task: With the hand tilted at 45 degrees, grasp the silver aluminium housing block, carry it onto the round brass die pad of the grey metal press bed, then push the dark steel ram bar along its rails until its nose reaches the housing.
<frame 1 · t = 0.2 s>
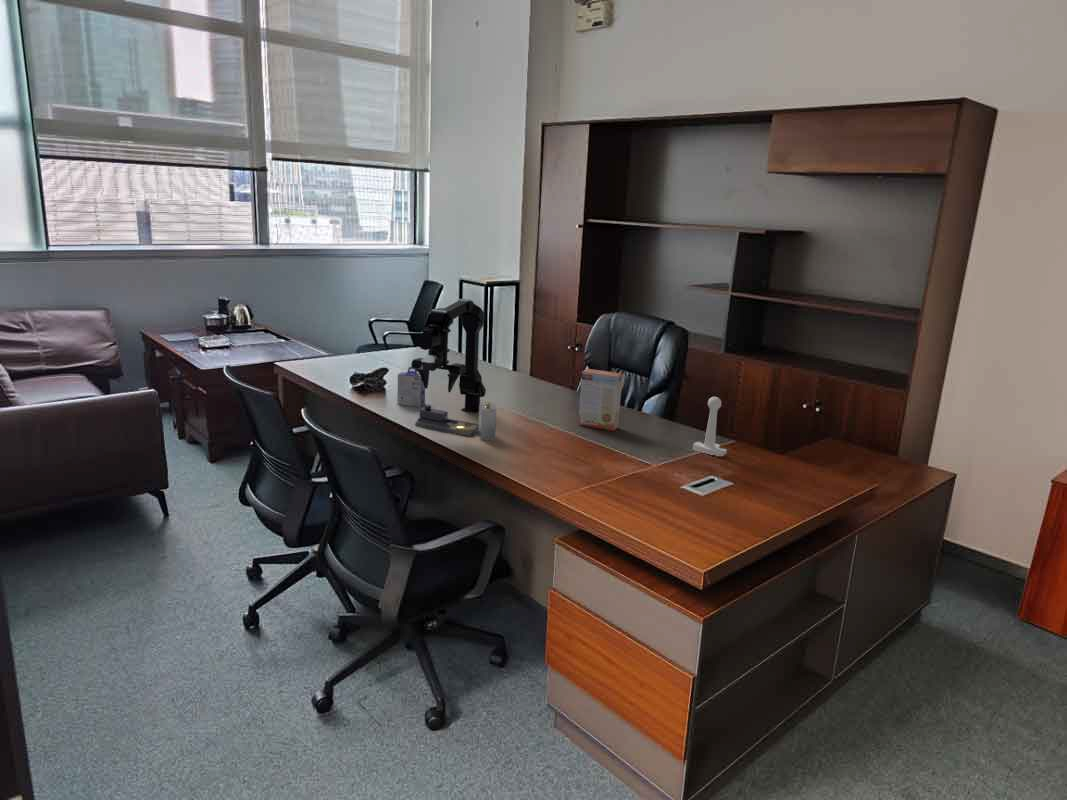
hand: (437, 390, 257), 14 cm above the table, tool pointing down, fingers open, 9 cm apart
press bed: (449, 427, 264), on the table
housing: (486, 437, 255), on the table
cracker box: (598, 426, 274), on the table
ram: (434, 413, 264), point 4 cm above the table, slide at 0.0 cm
joystick: (710, 452, 252), on the table
ink cartridge box: (411, 404, 290), on the table
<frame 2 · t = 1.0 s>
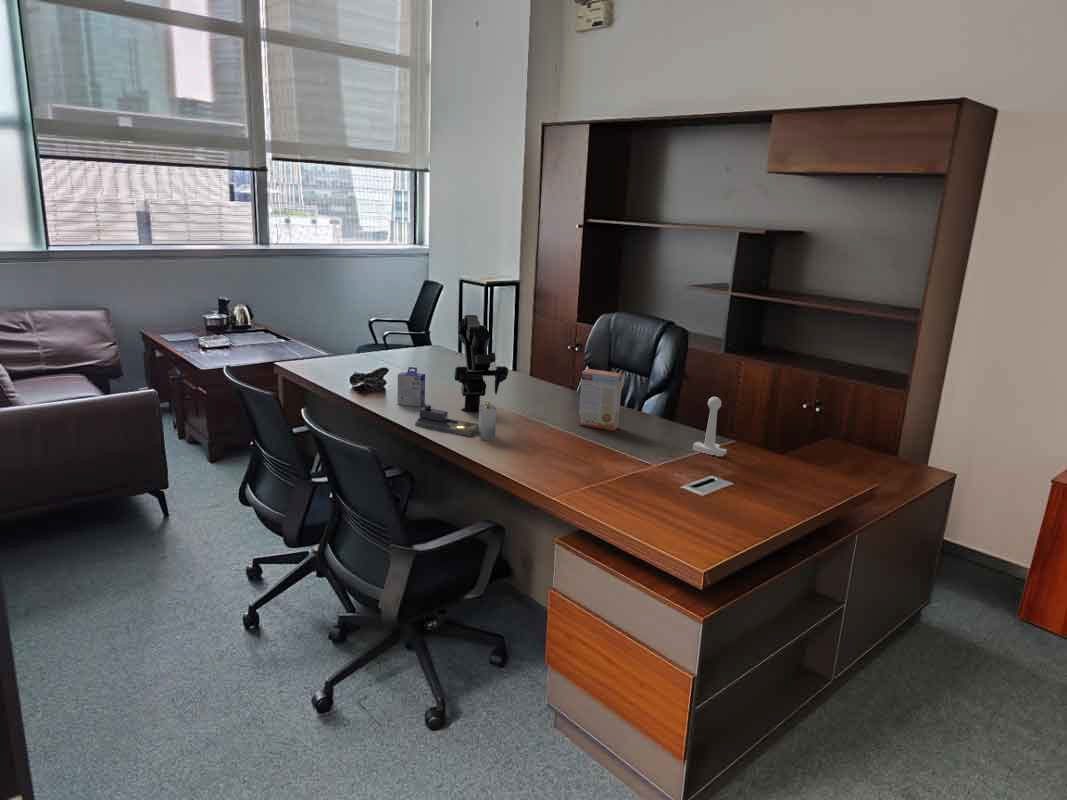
hand: (483, 394, 259), 13 cm above the table, tool tilted 45°, fingers open, 9 cm apart
nothing on the table moved.
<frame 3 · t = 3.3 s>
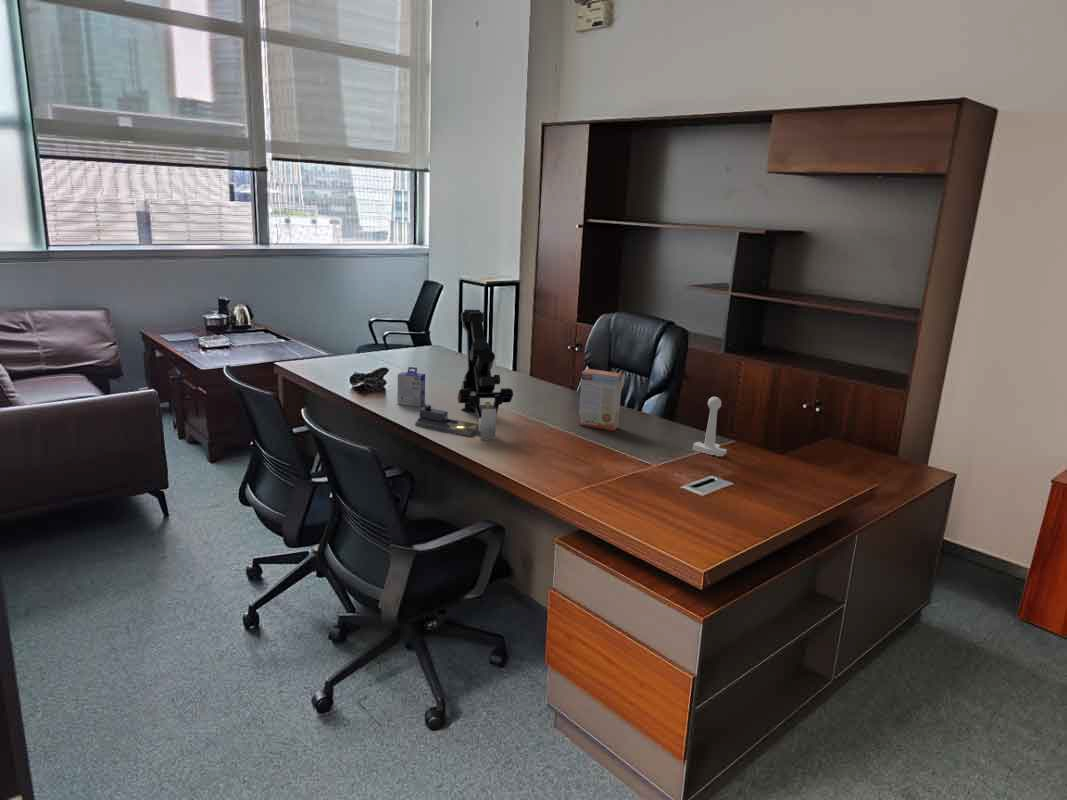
hand: (487, 417, 252), 8 cm above the table, tool tilted 45°, fingers closed on housing, 5 cm apart
housing: (486, 437, 255), on the table, touching gripper
everything else where it was.
when the fingers open (10 cm above the table, at t = 6.0 s): housing stays where it is, resting on press bed.
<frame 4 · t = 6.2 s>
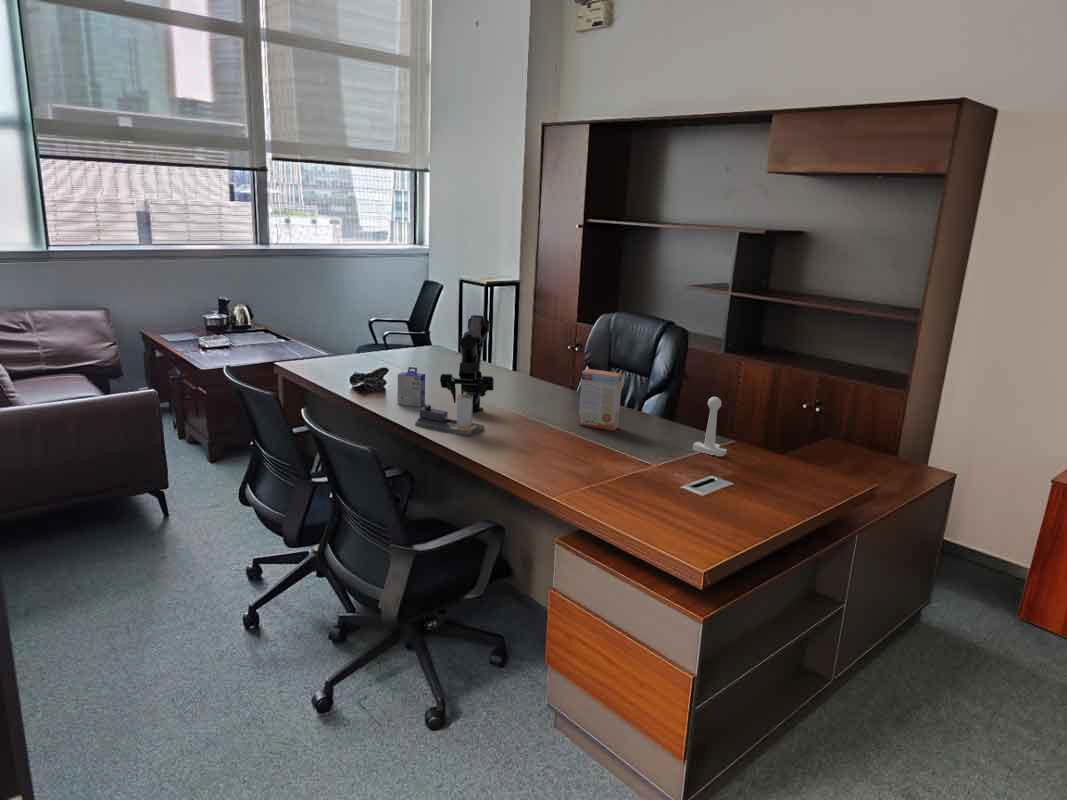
hand: (464, 403, 257), 11 cm above the table, tool tilted 45°, fingers open, 7 cm apart
housing: (464, 426, 260), point 2 cm above the table, touching press bed
everything else where it was.
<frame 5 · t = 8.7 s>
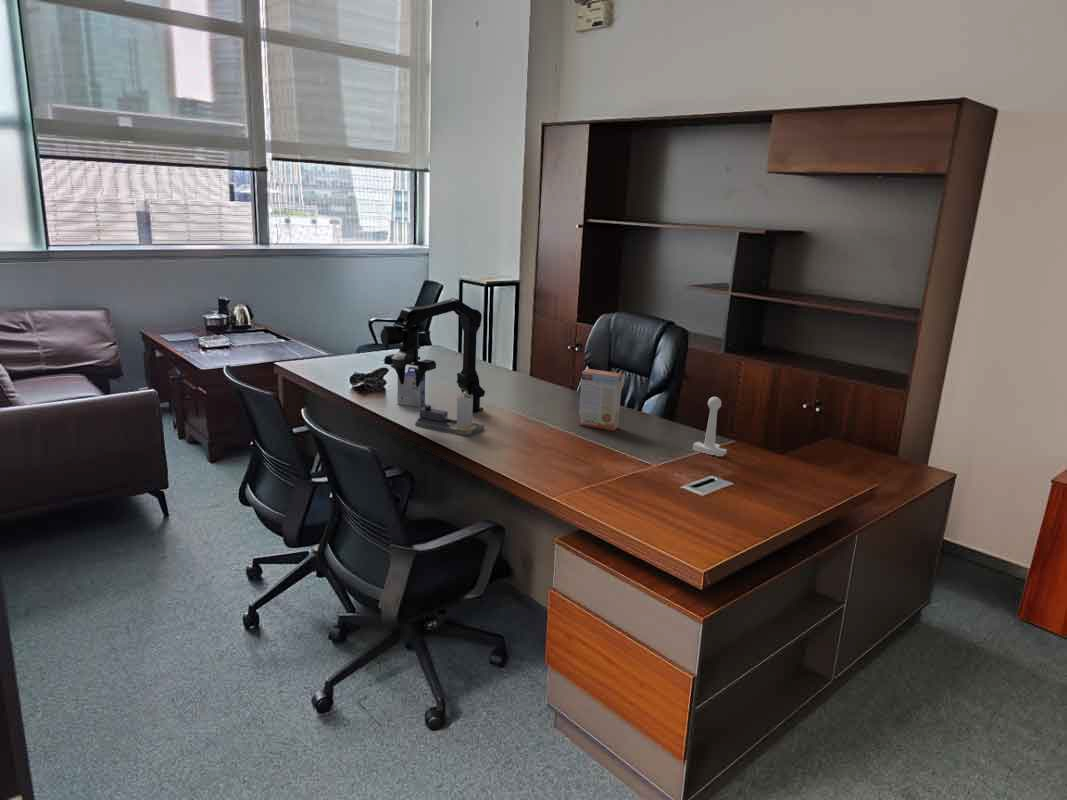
hand: (409, 385, 266), 13 cm above the table, tool pointing down, fingers open, 6 cm apart
nothing on the table moved.
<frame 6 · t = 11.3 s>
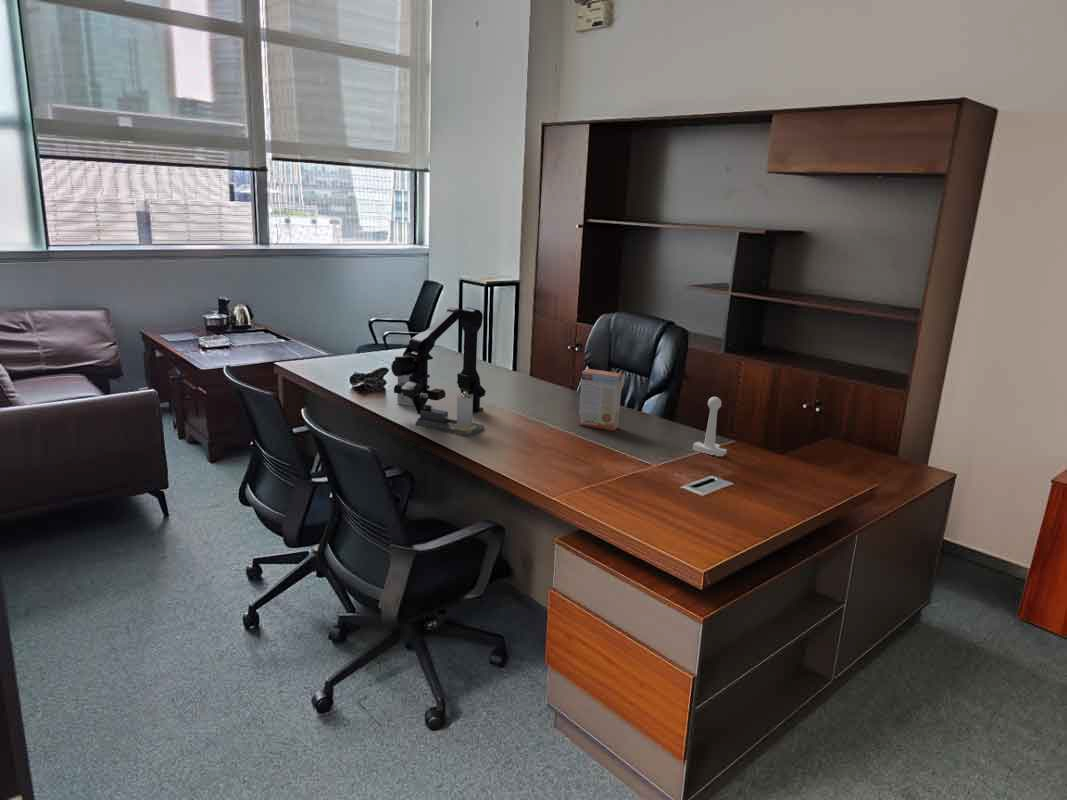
hand: (419, 414, 267), 3 cm above the table, tool pointing down, fingers closed
ram: (434, 413, 264), point 4 cm above the table, slide at 0.2 cm, touching gripper
everything else where it was.
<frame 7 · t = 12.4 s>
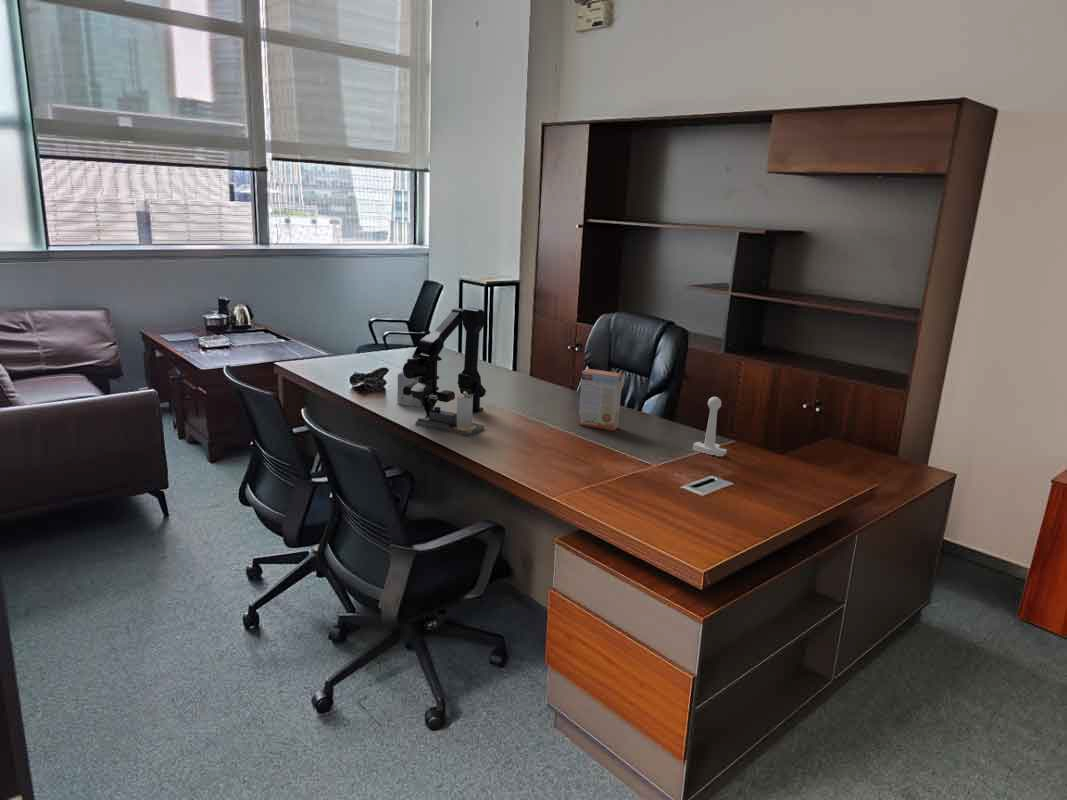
hand: (428, 415, 266), 3 cm above the table, tool pointing down, fingers closed
ram: (443, 415, 263), point 4 cm above the table, slide at 4.0 cm, touching gripper
everything else where it was.
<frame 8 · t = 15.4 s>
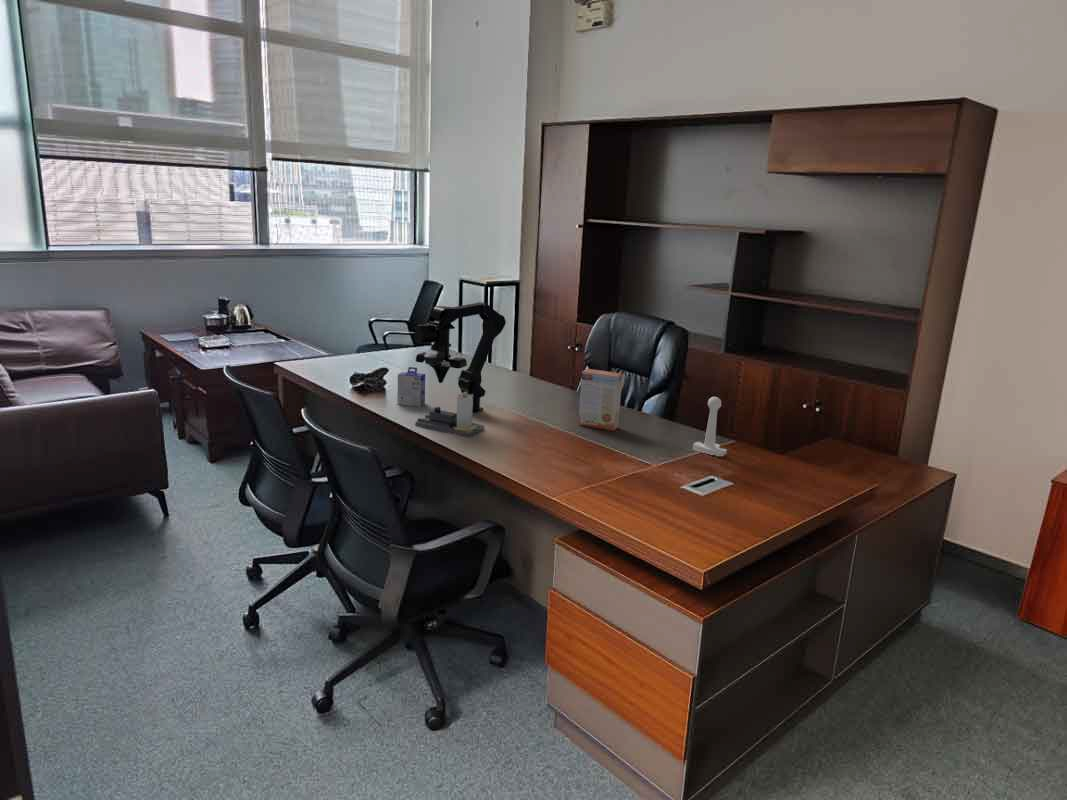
hand: (440, 382, 272), 13 cm above the table, tool pointing down, fingers closed
ram: (443, 415, 263), point 4 cm above the table, slide at 4.0 cm
everything else where it was.
at the end: housing inside the target area (0.5 cm from its centre), point 1.7 cm above the table; housing tilted 0°; ram slide at 4.0 cm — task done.
